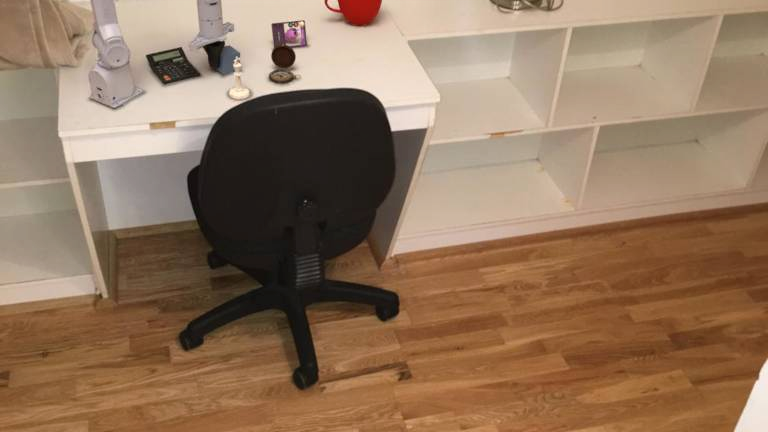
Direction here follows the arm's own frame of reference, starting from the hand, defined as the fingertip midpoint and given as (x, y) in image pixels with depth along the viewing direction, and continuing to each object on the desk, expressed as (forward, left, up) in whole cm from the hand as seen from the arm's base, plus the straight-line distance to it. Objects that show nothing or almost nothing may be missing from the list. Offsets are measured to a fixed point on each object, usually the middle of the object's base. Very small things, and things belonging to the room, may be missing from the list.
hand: (214, 66), depth 198 cm
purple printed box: (+24, -6, -2) cm, 24 cm away
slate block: (+3, -1, -2) cm, 4 cm away
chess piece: (-4, -11, -2) cm, 12 cm away
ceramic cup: (+46, -12, -2) cm, 47 cm away
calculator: (-5, +9, -2) cm, 11 cm away
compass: (+9, -16, -2) cm, 18 cm away
